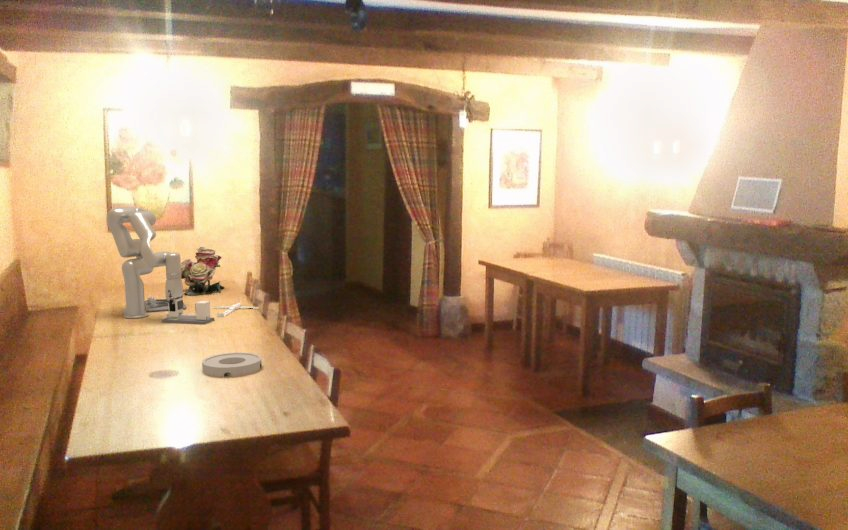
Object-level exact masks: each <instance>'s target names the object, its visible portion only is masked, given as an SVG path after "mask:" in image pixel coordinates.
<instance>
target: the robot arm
mask: <svg viewBox="0 0 848 530" xmlns="http://www.w3.org/2000/svg"><path fill="white" fill-rule="evenodd" d="M156 222H157V217H156V215H155V214H154V213H153V212H152V211H151V210H148V209H144V208H141V207H138V206H126V207H125V206H122V207H120V206H119V207H114V208H112V209H111V210H109V211H108V212H107V215H106V224H107V228H108V229H109V231H110V233H111V235H112V236H113V240H114V243H115V247H117V251H118V254H119V256H120V257H121V258H125V259H126V258H127V260H125V261H124V262H123V263H122V265H121V272H122V275H123V280H124V292H125V293H124V295H125V306H126V308H121V309H120V313H124V314H123V318H124V319H141V318H146V317H148V316H149V312H147V311H146V308H145V301H146V300H145V287H144V282H143V280H142V278H141V276H144V275H149V274H151V273H152V272H153V271H154V268H160V267H165V273H166V274H165V276H166V279H165V285H164V287H165V293H164V294H165V299H166V300H167V301H168V304H169V311H173V312H175V304H174V301H175V298H182V299H183V297H184V295H185V294H184V293H185V292H184V290H183V289H184V288H183V287H184V286H183V279H182V278H181V265H182V264H181V263H182V262H181V255H180V252H179V253H178V252H170V251H159V252H154V251H153V250H152V248H151V246H150V242H151V241H154V239H155V238H156V236H157V233H156V231H155V229H154V228H153V226H154V225H155V224H156ZM127 223H130V225H131V227H132V228H133V230H134V232H135V233H136V235H137V237H138V238H132V236H131V234H130V233H131V232H130V231H129V229H128V228H127V226H125V225H124V224H127ZM134 257H135V258H134ZM129 258H130V259H129ZM171 299H173V300H171ZM169 311H168V312H169Z"/></svg>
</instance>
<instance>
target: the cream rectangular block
mask: <svg viewBox="0 0 848 530" xmlns="http://www.w3.org/2000/svg"><path fill="white" fill-rule="evenodd" d="M171 300H173V299H171ZM183 303H184V300H183V298H175V301H174V304H175V312H173V311H168V314H169V316H172V317H178V316H179V314H184V309H183ZM168 307H169V304H168Z"/></svg>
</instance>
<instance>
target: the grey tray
mask: <svg viewBox="0 0 848 530" xmlns="http://www.w3.org/2000/svg"><path fill="white" fill-rule="evenodd" d="M186 309H187V306H186V304H185V303H184V302H183V310H186ZM145 312H147V313H157V312H169V307H168V301H167V300H166V298H163V299H160V298H159V299H157V298H156V299H155V297H154V296H149V297H147V298H146V300H145Z"/></svg>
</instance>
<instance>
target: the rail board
mask: <svg viewBox="0 0 848 530" xmlns="http://www.w3.org/2000/svg"><path fill="white" fill-rule="evenodd" d="M210 303H211V301H209V300H208V301H207V300H200V301H197V302H195V304H194V306H195V307H194V309H195V314H185V313H183V314H179V316H178V317H172V316H169V313H166V317H165V318H162V319H161V323H165V324H166V323H167V324H169V323H170V324H187V325H188V324H190V325H207V324H210V323H211V322H214V321H215V317H211V304H210Z"/></svg>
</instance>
